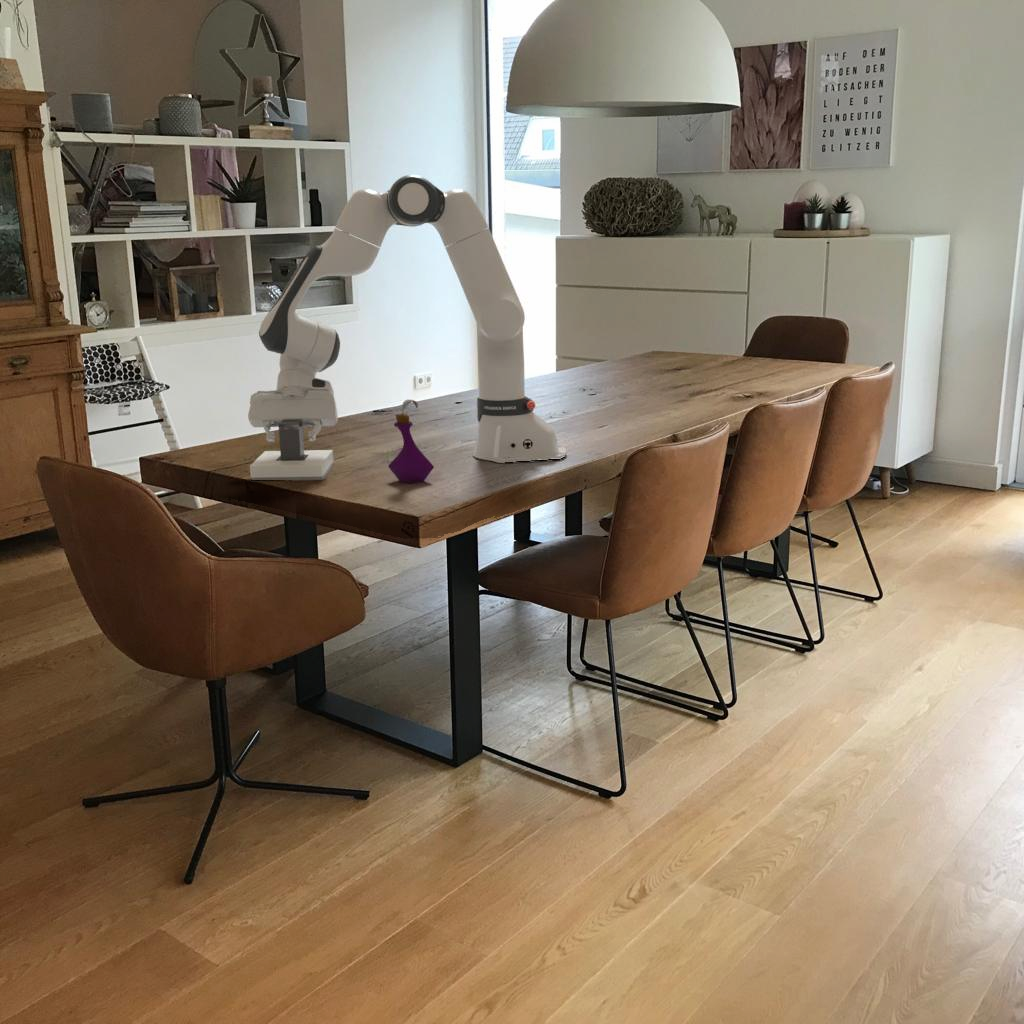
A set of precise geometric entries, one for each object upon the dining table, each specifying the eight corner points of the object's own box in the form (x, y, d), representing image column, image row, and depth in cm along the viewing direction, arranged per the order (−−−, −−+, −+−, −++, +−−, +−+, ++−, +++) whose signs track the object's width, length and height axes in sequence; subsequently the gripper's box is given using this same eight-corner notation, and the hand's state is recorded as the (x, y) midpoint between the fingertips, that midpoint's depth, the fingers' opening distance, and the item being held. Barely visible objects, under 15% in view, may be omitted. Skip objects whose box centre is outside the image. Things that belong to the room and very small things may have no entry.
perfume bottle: (405, 486, 247) (402, 404, 242) (388, 480, 253) (384, 399, 248) (434, 481, 251) (432, 400, 247) (417, 475, 257) (414, 396, 253)
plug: (305, 466, 264) (301, 419, 261) (301, 471, 260) (298, 423, 257) (285, 467, 264) (282, 420, 261) (281, 471, 260) (278, 423, 257)
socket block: (333, 464, 270) (332, 449, 269) (322, 480, 254) (321, 464, 253) (265, 465, 270) (264, 451, 269) (250, 481, 254) (249, 465, 253)
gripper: (248, 383, 264) (242, 432, 257) (336, 381, 264) (332, 431, 257) (254, 399, 269) (248, 448, 262) (340, 397, 269) (337, 446, 262)
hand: (290, 439), depth 259 cm, fingers open, 8 cm apart
